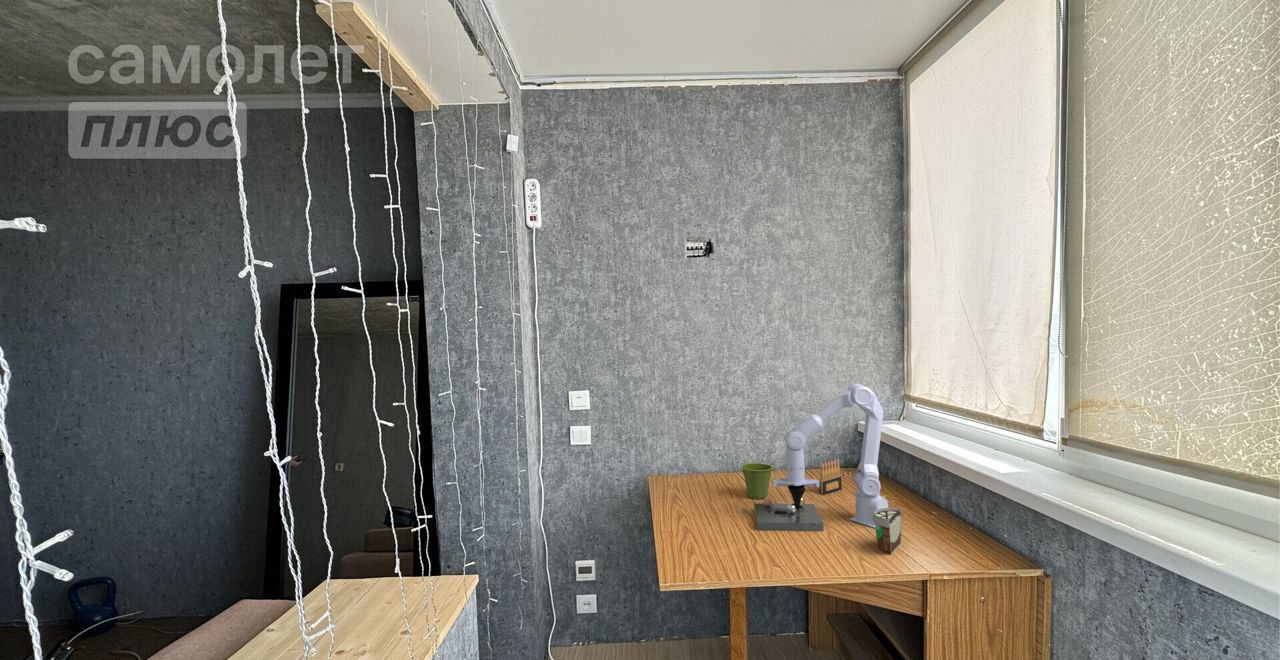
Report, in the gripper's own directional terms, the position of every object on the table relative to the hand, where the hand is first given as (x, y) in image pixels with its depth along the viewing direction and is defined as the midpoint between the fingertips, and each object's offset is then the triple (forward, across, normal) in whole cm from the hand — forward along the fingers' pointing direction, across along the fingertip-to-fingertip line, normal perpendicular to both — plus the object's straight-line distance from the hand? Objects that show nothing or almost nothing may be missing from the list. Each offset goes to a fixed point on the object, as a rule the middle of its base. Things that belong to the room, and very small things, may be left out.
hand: (796, 508), depth 194 cm
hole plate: (+4, -3, 0) cm, 5 cm away
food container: (+4, +22, -21) cm, 31 cm away
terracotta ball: (0, -9, +7) cm, 11 cm away
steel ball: (0, -2, 0) cm, 2 cm away
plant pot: (+4, -11, +26) cm, 28 cm away
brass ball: (0, +2, +7) cm, 7 cm away
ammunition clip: (+4, +17, +32) cm, 36 cm away
